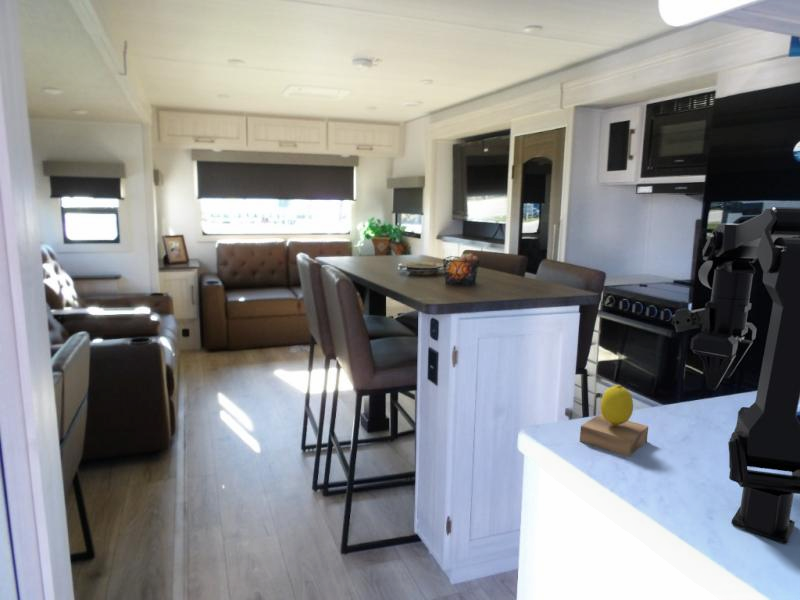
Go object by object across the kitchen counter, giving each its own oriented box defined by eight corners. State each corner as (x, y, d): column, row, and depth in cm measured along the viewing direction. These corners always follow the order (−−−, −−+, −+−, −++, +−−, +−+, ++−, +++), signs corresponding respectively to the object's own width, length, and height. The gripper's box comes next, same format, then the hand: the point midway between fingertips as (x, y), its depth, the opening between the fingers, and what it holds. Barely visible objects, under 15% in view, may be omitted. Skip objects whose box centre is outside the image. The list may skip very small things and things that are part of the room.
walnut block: (628, 456, 97) (630, 440, 97) (579, 440, 103) (580, 425, 103) (646, 441, 104) (648, 426, 103) (599, 427, 110) (601, 413, 109)
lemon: (611, 433, 99) (615, 390, 98) (592, 421, 105) (596, 381, 103) (637, 430, 101) (642, 388, 100) (618, 419, 106) (621, 379, 105)
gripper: (695, 286, 108) (686, 363, 111) (663, 296, 95) (653, 384, 97) (762, 293, 101) (750, 376, 104) (737, 306, 87) (724, 400, 90)
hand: (718, 383), depth 99 cm, fingers open, 9 cm apart
